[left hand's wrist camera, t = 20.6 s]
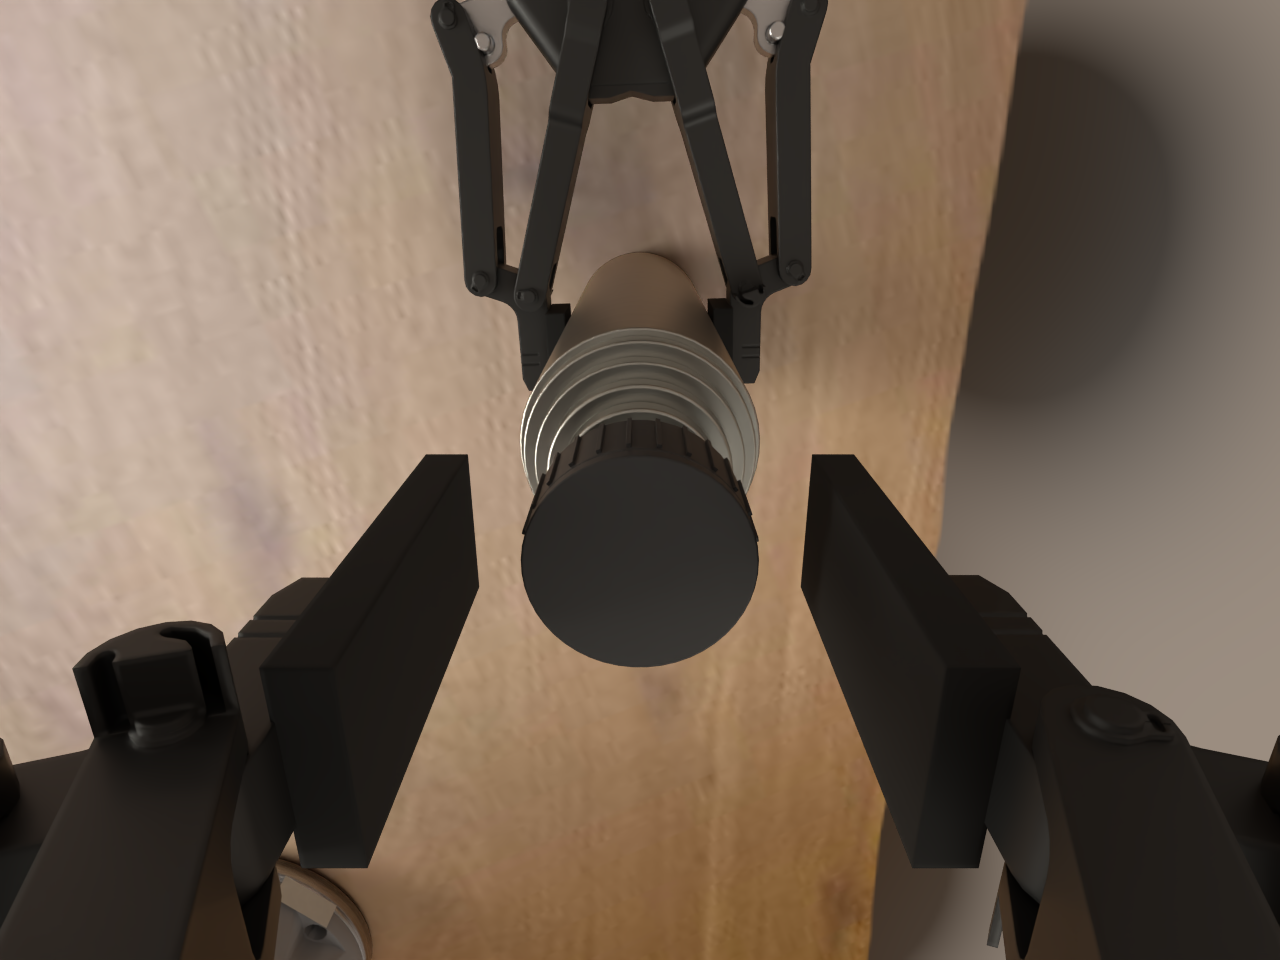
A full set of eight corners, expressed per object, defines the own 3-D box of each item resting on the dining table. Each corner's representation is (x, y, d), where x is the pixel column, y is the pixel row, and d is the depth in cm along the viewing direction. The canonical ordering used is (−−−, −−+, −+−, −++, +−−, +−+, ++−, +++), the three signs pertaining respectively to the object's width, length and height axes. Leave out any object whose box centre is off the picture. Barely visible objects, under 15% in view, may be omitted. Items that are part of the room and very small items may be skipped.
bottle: (644, 225, 35) (653, 312, 12) (724, 318, 37) (872, 560, 13) (555, 309, 37) (404, 537, 13) (635, 396, 38) (628, 738, 15)
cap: (789, 527, 15) (812, 578, 13) (630, 646, 16) (629, 710, 14) (651, 369, 13) (652, 400, 12) (488, 509, 14) (466, 557, 13)
